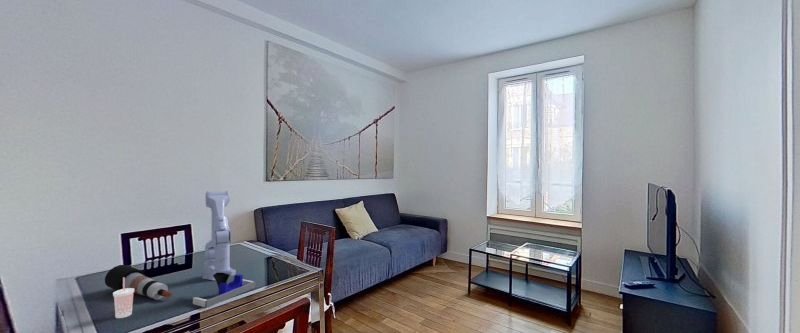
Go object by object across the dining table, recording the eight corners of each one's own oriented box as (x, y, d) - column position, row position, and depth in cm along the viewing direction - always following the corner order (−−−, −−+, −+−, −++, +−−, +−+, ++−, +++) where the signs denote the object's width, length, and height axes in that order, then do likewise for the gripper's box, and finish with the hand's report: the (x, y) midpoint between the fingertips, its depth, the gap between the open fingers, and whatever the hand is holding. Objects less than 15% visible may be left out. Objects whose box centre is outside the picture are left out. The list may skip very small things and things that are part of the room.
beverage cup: (138, 312, 119) (138, 275, 119) (120, 320, 113) (120, 281, 113) (126, 310, 120) (126, 274, 120) (108, 318, 114) (108, 279, 114)
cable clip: (232, 287, 143) (233, 274, 143) (241, 288, 143) (242, 275, 143) (214, 298, 131) (215, 283, 131) (225, 299, 131) (225, 284, 131)
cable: (161, 313, 128) (151, 296, 123) (111, 292, 140) (99, 276, 135) (184, 294, 136) (175, 277, 131) (135, 276, 148) (125, 260, 143)
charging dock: (192, 304, 126) (192, 297, 126) (242, 284, 147) (242, 279, 147) (206, 307, 123) (206, 301, 123) (255, 287, 144) (255, 281, 144)
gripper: (202, 258, 135) (202, 290, 135) (225, 263, 129) (225, 295, 129) (217, 254, 142) (217, 284, 142) (240, 258, 136) (239, 289, 136)
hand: (222, 289), depth 136 cm, fingers closed, pressing on cable clip
